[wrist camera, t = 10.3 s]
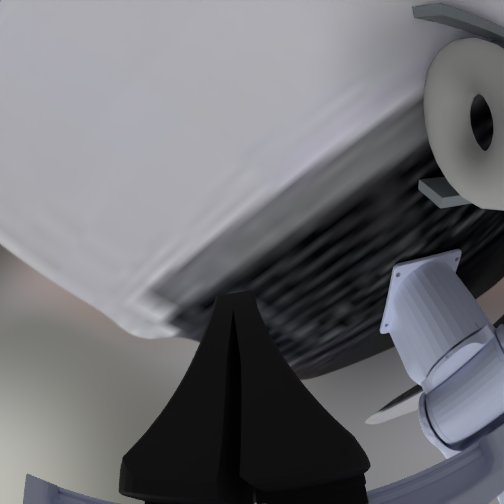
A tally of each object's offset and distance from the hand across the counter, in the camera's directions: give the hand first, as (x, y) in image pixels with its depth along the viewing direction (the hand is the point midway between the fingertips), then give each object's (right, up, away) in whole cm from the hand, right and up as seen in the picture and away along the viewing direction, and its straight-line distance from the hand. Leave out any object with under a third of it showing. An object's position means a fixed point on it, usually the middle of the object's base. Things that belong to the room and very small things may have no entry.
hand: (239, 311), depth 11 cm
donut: (+13, +12, +4) cm, 18 cm away
